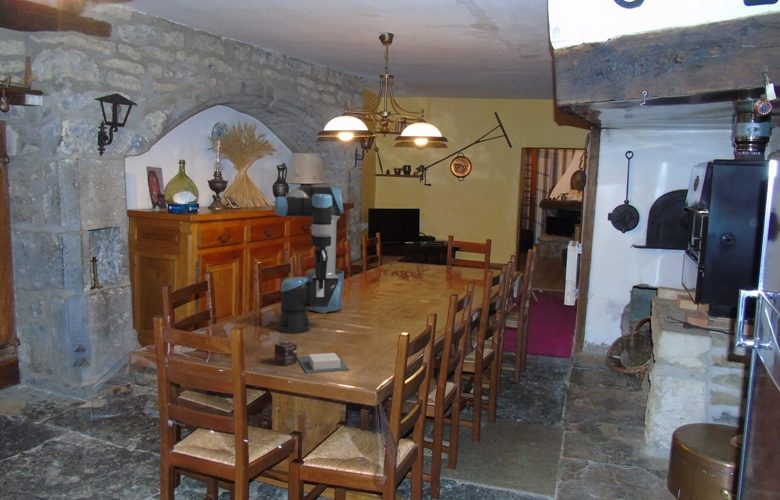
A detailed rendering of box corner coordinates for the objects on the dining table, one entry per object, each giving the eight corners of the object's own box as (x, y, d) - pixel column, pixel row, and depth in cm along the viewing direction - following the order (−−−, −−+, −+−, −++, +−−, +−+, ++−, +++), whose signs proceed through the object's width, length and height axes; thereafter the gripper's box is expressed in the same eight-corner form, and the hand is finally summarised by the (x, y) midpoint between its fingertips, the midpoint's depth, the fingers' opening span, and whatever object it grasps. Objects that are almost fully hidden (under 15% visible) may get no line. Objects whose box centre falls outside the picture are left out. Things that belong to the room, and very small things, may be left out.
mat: (297, 358, 239) (297, 357, 238) (337, 355, 244) (337, 354, 244) (306, 373, 222) (306, 372, 222) (349, 370, 227) (349, 369, 227)
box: (284, 366, 228) (284, 347, 227) (273, 362, 232) (274, 343, 231) (296, 363, 233) (297, 344, 232) (286, 359, 237) (286, 340, 236)
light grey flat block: (308, 354, 232) (313, 361, 224) (334, 352, 235) (340, 360, 227) (308, 362, 233) (313, 370, 224) (334, 360, 236) (340, 368, 227)
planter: (323, 316, 306) (324, 276, 303) (298, 309, 318) (298, 270, 316) (350, 310, 320) (351, 272, 317) (325, 303, 332) (326, 267, 330)
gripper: (308, 233, 238) (306, 293, 241) (315, 237, 225) (313, 300, 229) (327, 233, 240) (325, 292, 243) (335, 237, 228) (333, 299, 231)
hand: (319, 296), depth 236 cm, fingers closed
